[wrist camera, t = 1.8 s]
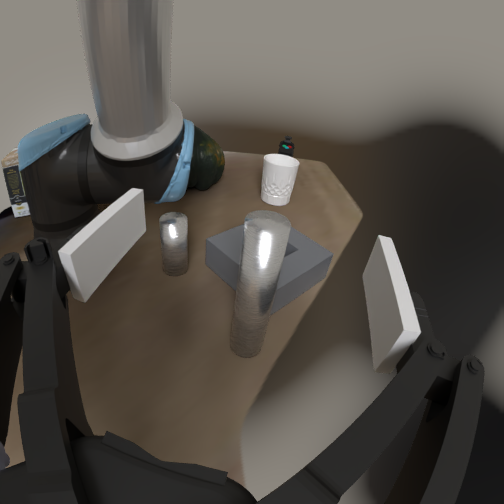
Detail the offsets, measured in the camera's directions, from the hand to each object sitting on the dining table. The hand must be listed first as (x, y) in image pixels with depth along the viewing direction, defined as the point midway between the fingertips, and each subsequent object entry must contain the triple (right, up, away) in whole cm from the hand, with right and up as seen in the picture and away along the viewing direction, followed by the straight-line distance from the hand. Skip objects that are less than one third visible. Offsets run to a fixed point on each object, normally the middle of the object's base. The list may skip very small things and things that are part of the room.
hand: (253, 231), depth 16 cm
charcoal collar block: (+2, -4, +33) cm, 33 cm away
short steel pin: (-12, -4, +31) cm, 33 cm away
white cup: (+5, +11, +54) cm, 55 cm away
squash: (-15, +15, +56) cm, 60 cm away
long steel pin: (-1, -13, +21) cm, 24 cm away
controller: (+9, +22, +69) cm, 72 cm away
